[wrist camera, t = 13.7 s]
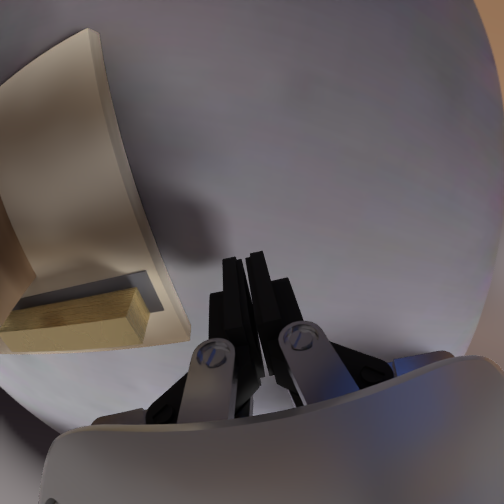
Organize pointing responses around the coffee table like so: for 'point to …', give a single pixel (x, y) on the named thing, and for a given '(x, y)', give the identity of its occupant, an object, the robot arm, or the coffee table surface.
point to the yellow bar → (79, 323)
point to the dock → (74, 196)
